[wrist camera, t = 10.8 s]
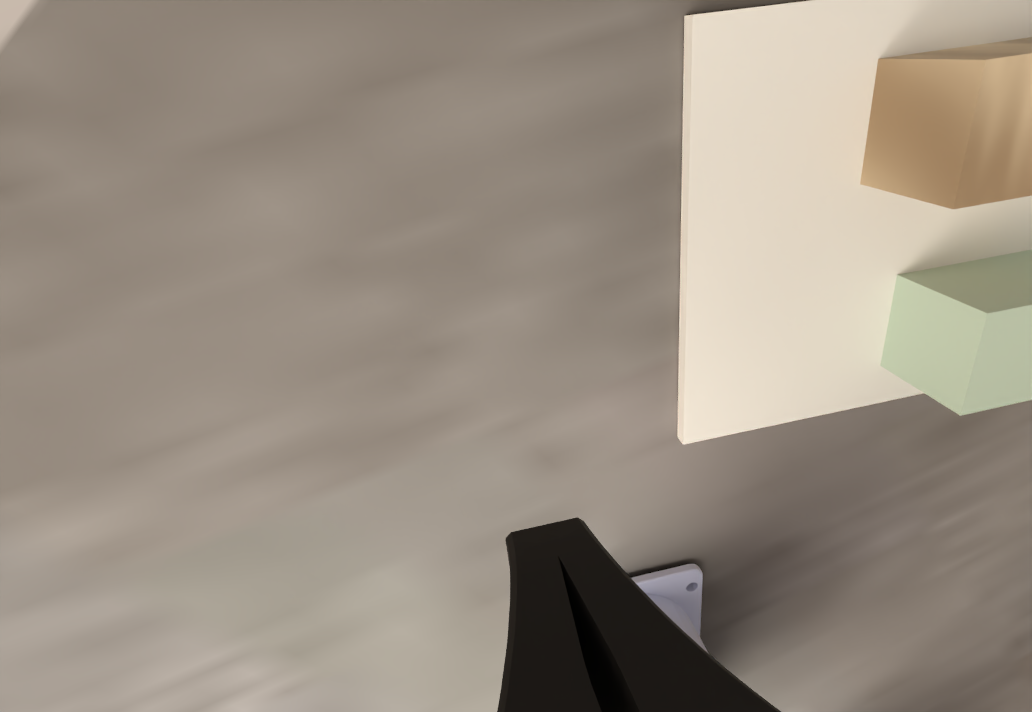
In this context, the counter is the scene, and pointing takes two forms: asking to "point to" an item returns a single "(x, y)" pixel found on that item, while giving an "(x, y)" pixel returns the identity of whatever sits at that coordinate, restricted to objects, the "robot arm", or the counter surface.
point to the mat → (808, 206)
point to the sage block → (965, 332)
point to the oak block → (953, 125)
